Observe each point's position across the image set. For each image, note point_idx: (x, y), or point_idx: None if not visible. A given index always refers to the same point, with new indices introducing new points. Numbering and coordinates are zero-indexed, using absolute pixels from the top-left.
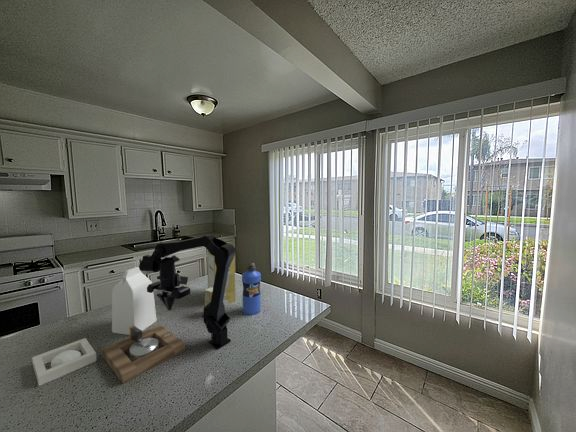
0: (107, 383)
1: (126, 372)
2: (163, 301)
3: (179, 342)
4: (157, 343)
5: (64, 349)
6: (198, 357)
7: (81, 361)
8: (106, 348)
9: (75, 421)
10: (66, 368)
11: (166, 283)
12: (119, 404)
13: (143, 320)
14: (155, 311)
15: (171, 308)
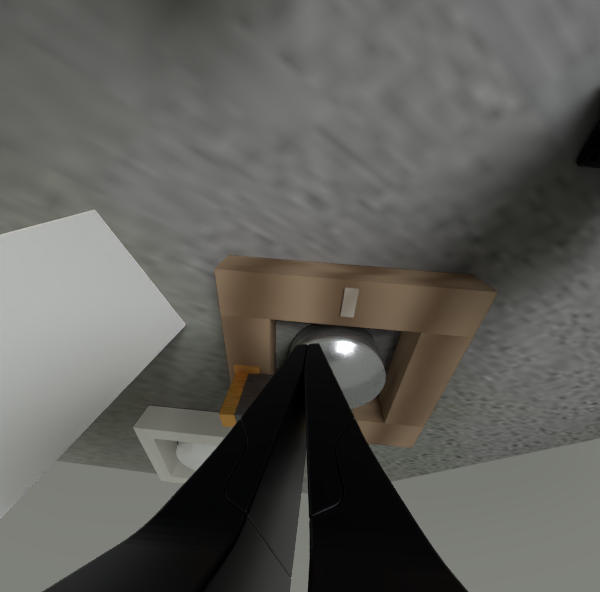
0: None
1: (413, 442)
2: (293, 537)
3: (464, 302)
4: (371, 354)
5: (163, 452)
6: (575, 269)
7: None
8: None
9: (411, 472)
10: None
11: None
12: (454, 442)
13: (121, 310)
14: (33, 226)
15: (323, 352)
